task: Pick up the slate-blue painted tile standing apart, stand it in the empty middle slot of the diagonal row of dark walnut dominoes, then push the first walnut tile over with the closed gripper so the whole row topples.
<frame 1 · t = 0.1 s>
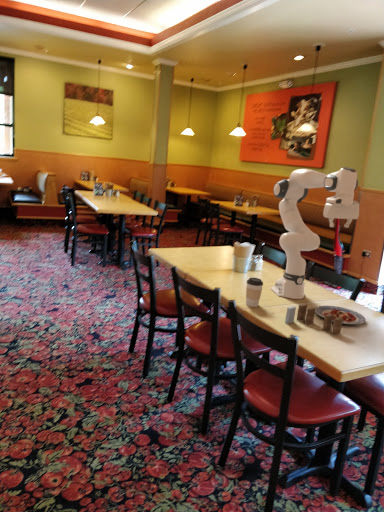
hand: (339, 227, 215), 48 cm above the table, fingers open, 8 cm apart
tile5: (335, 334, 200), on the table
coffee cup: (251, 305, 230), on the table
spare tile: (289, 322, 209), on the table
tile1: (300, 319, 215), on the table
tile4: (326, 330, 204), on the table
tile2: (309, 323, 211), on the table
ceramic plate: (339, 318, 223), on the table
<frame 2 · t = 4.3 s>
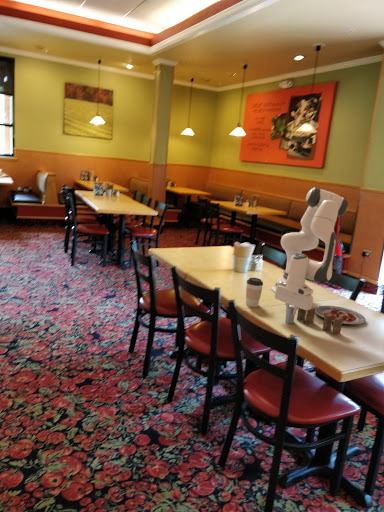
hand: (290, 312, 208), 5 cm above the table, fingers closed on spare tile, 2 cm apart
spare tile: (289, 322, 209), on the table, touching gripper
everything else where it was.
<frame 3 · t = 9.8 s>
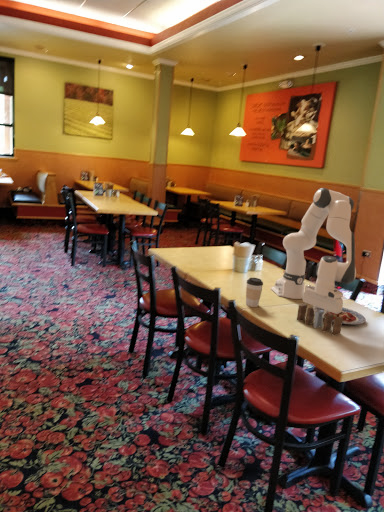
hand: (319, 316, 206), 5 cm above the table, fingers open, 3 cm apart
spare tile: (317, 326, 207), on the table
everything else where it was.
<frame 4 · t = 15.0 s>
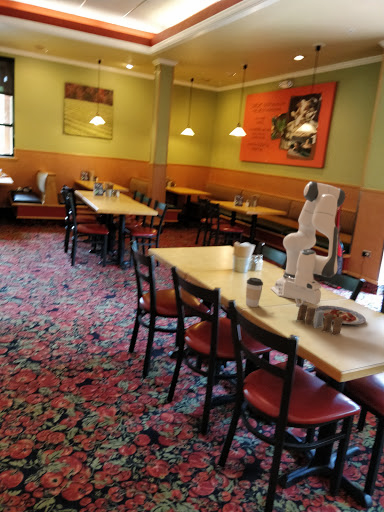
hand: (299, 307, 215), 6 cm above the table, fingers closed
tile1: (300, 319, 215), on the table, touching gripper
everything else where it was.
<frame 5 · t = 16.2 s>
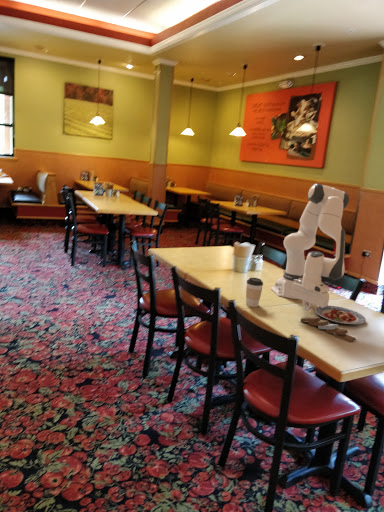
hand: (306, 310, 211), 6 cm above the table, fingers closed
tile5: (337, 334, 199), on the table, tilted 90°
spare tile: (321, 326, 206), point 1 cm above the table, tilted 71°, touching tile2, tile4
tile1: (303, 319, 213), point 1 cm above the table, tilted 72°, touching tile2
tile4: (329, 329, 202), point 1 cm above the table, tilted 77°, touching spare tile
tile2: (311, 322, 210), point 1 cm above the table, tilted 71°, touching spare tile, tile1
everything else where it was.
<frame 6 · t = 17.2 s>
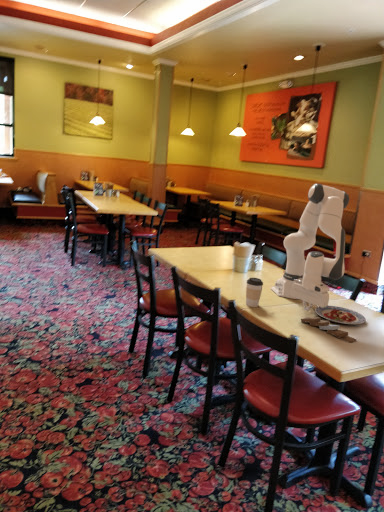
hand: (306, 310, 211), 6 cm above the table, fingers closed
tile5: (338, 335, 199), on the table, tilted 90°, touching tile4
tile4: (331, 330, 201), point 1 cm above the table, tilted 80°, touching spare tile, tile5
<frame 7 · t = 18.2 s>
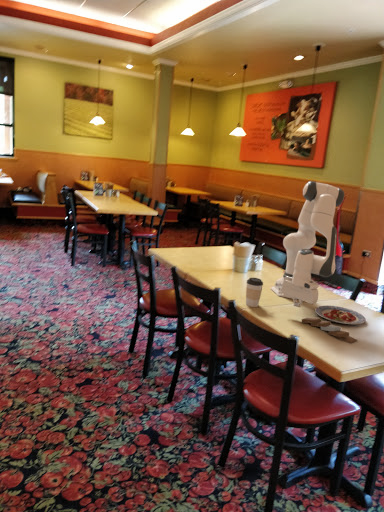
hand: (296, 306, 216), 6 cm above the table, fingers closed
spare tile: (324, 327, 205), point 1 cm above the table, tilted 73°
tile4: (332, 331, 200), point 1 cm above the table, tilted 76°, touching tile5
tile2: (313, 323, 209), point 1 cm above the table, tilted 73°, touching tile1
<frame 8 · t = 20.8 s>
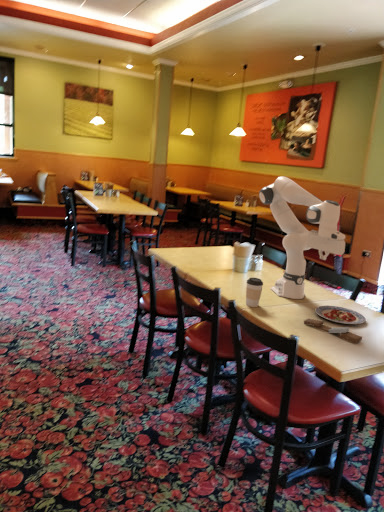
hand: (322, 259, 215), 31 cm above the table, fingers closed
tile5: (341, 336, 198), on the table, tilted 90°, touching tile4
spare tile: (331, 330, 202), point 1 cm above the table, tilted 69°, touching tile4
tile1: (306, 321, 211), point 1 cm above the table, tilted 80°, touching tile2
tile4: (343, 333, 197), point 2 cm above the table, tilted 89°, touching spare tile, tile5
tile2: (315, 325, 208), on the table, tilted 90°, touching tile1
everything else where it was.
at the end: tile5 tilted 90°; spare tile tilted 68°; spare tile inside the target area (6.6 cm from its centre), point 0.8 cm above the table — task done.
